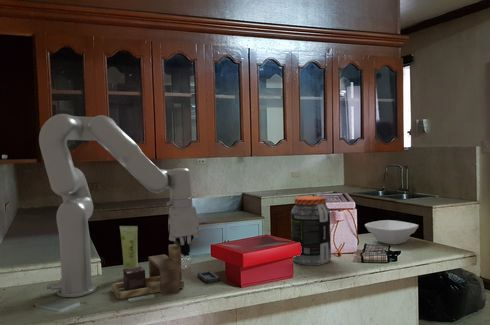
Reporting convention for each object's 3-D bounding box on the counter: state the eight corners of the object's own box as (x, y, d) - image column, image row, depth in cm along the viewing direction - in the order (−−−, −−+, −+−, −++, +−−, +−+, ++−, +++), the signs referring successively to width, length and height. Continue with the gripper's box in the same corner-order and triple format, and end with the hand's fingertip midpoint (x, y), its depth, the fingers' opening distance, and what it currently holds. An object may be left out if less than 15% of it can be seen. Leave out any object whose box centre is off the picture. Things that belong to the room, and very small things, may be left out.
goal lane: (129, 302, 133) (129, 300, 133) (119, 286, 148) (119, 284, 148) (154, 297, 136) (154, 295, 136) (142, 282, 152) (142, 280, 152)
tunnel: (161, 295, 138) (160, 268, 138) (149, 281, 153) (148, 256, 152) (179, 292, 141) (178, 265, 140) (165, 278, 155) (164, 254, 155)
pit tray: (206, 283, 149) (206, 279, 149) (197, 276, 157) (197, 273, 157) (219, 280, 151) (219, 277, 151) (210, 274, 159) (210, 270, 159)
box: (141, 286, 148) (140, 265, 147) (146, 291, 142) (145, 270, 142) (123, 290, 145) (122, 268, 144) (128, 295, 139) (127, 273, 139)
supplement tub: (339, 263, 168) (337, 198, 167) (304, 268, 163) (302, 201, 161) (318, 253, 183) (316, 194, 182) (285, 258, 177) (283, 196, 176)
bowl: (359, 242, 202) (359, 224, 202) (387, 235, 213) (387, 219, 213) (395, 250, 185) (395, 231, 184) (424, 243, 196) (424, 225, 196)
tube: (123, 281, 154) (121, 227, 153) (121, 277, 158) (119, 225, 157) (139, 278, 156) (137, 226, 155) (137, 275, 161) (134, 223, 160)
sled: (117, 299, 134) (115, 258, 134) (111, 289, 144) (110, 251, 144) (184, 286, 144) (182, 249, 144) (174, 278, 154) (173, 242, 153)
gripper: (163, 207, 142) (168, 261, 143) (205, 201, 149) (209, 253, 150) (157, 205, 149) (161, 256, 150) (197, 199, 155) (201, 249, 156)
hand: (185, 255), depth 150 cm, fingers closed
